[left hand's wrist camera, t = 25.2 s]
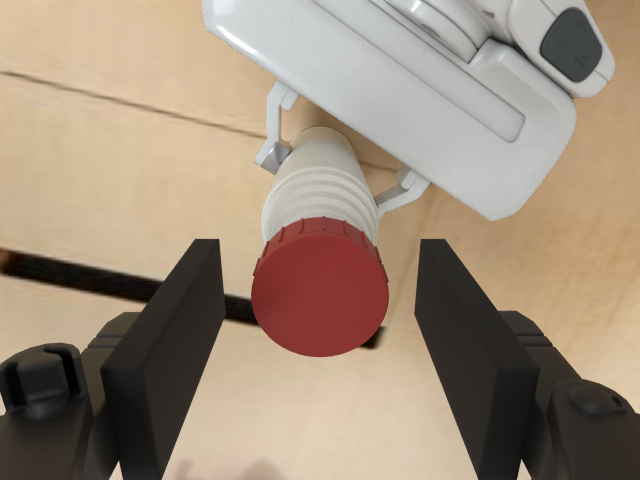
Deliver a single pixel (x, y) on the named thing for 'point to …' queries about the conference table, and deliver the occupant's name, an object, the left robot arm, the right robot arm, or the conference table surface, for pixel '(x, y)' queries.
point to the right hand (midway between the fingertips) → (312, 197)
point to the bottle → (320, 185)
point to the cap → (320, 287)
